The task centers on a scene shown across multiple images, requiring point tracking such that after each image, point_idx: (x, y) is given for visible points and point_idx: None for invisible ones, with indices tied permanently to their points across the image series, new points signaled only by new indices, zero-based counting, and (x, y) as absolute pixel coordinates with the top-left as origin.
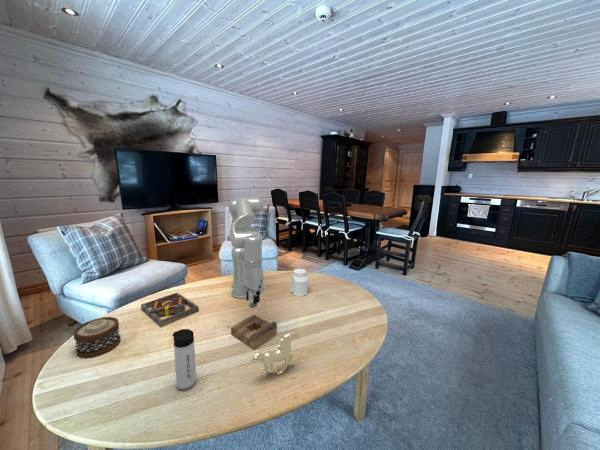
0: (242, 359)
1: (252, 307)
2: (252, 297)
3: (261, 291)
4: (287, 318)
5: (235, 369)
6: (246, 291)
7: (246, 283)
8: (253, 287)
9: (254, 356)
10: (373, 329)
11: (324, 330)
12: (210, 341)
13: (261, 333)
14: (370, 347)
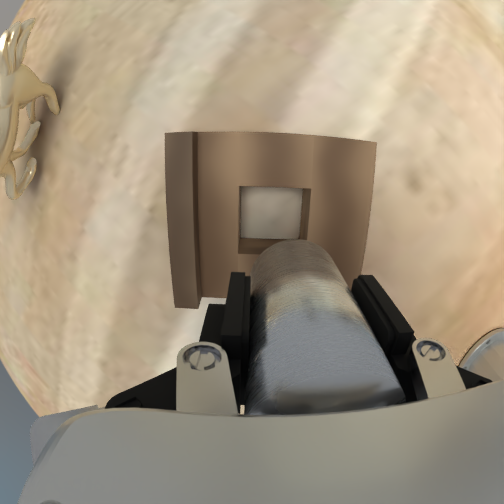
0: (178, 65)
1: (265, 251)
2: (270, 314)
3: (56, 428)
4: None
5: (159, 22)
6: (427, 344)
7: (486, 481)
8: (112, 485)
9: (10, 29)
10: None
11: (98, 380)
12: (388, 58)
13: (167, 191)
14: (8, 366)
